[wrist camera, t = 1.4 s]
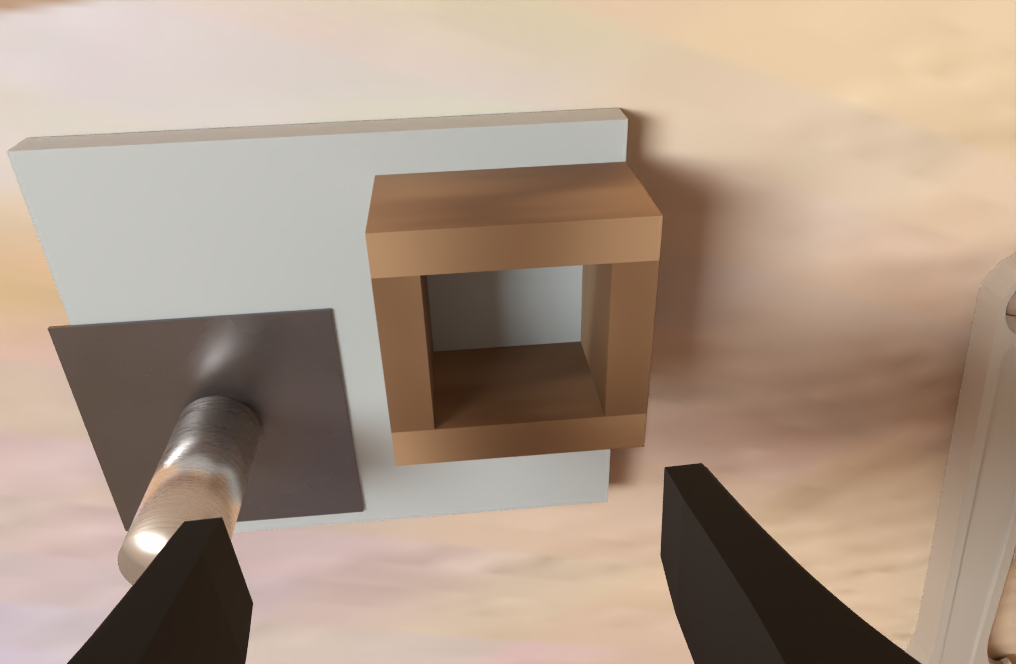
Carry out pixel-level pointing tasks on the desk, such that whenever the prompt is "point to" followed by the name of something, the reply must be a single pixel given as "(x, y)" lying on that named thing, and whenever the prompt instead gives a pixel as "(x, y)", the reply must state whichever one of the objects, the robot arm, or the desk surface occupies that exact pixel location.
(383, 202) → the collar
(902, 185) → the desk surface
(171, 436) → the post
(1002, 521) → the adjustable wrench
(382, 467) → the board
